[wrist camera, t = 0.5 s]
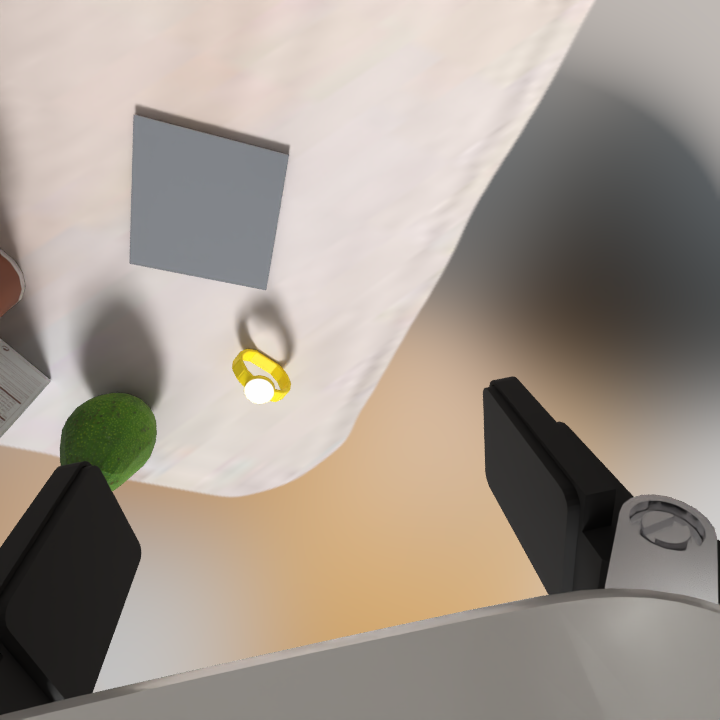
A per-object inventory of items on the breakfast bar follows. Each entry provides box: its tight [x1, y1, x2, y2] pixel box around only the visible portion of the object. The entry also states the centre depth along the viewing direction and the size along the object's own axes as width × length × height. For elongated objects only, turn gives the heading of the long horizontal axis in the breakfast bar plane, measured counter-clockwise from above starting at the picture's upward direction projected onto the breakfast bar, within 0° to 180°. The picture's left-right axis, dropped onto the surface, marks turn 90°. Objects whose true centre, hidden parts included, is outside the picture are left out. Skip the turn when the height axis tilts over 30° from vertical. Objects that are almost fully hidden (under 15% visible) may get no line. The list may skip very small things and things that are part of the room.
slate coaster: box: [130, 115, 289, 290], centre depth 40 cm, size 12×12×1 cm
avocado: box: [60, 393, 157, 491], centre depth 43 cm, size 8×8×12 cm
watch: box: [232, 349, 291, 404], centre depth 45 cm, size 6×3×6 cm, turn 50°
